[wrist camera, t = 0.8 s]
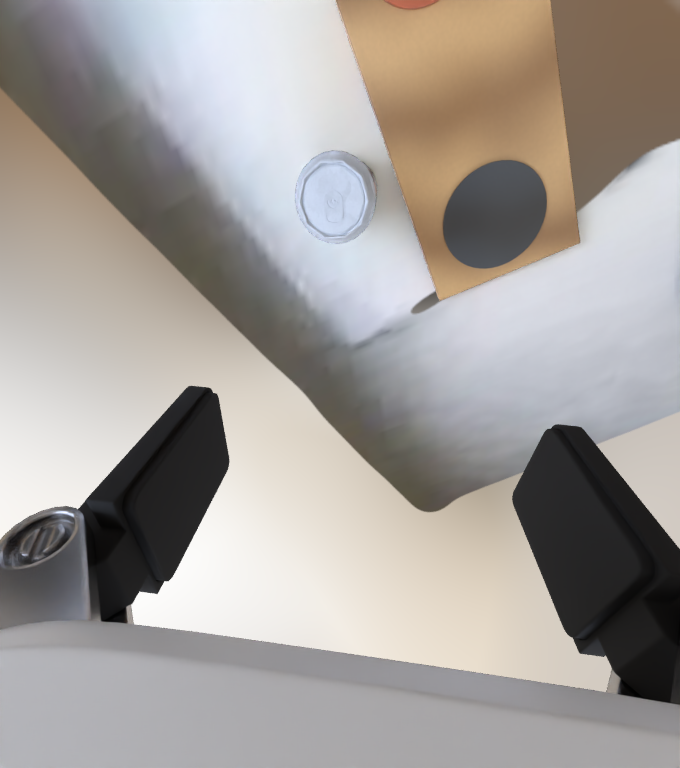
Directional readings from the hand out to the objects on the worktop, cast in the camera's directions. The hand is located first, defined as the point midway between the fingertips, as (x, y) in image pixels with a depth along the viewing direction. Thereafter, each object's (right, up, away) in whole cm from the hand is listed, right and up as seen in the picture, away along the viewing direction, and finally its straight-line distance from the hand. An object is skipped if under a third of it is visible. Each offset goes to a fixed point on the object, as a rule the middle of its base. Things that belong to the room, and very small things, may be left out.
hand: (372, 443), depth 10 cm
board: (+8, +23, +15) cm, 29 cm away
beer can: (0, +19, +19) cm, 27 cm away
